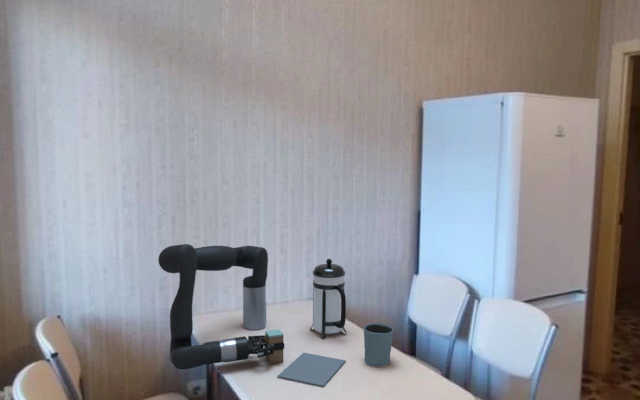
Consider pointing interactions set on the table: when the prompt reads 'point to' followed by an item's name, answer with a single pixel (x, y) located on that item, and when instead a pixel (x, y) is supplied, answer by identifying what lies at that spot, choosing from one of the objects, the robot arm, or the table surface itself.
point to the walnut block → (273, 338)
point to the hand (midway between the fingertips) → (281, 342)
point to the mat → (312, 369)
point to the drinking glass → (377, 344)
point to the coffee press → (329, 299)
